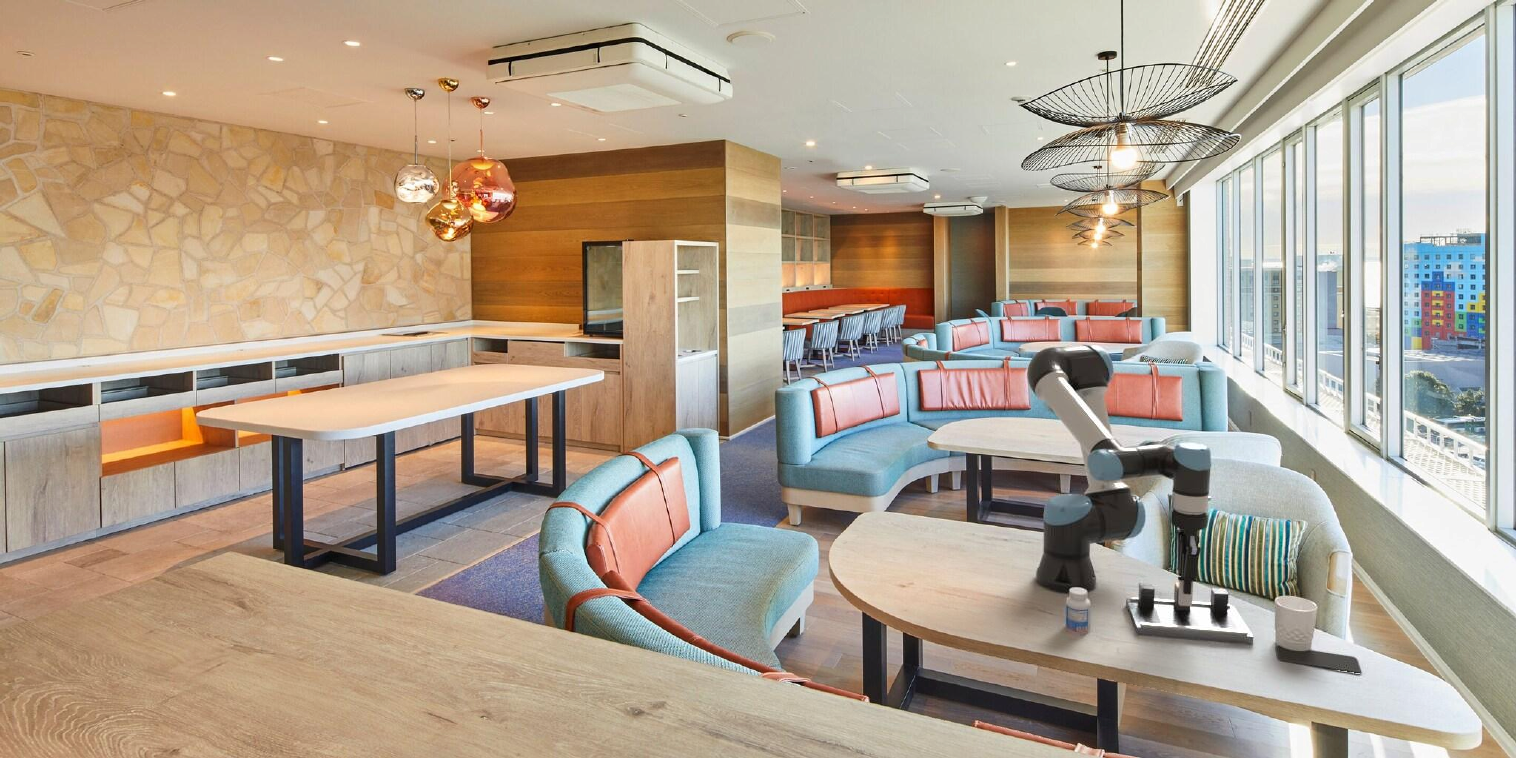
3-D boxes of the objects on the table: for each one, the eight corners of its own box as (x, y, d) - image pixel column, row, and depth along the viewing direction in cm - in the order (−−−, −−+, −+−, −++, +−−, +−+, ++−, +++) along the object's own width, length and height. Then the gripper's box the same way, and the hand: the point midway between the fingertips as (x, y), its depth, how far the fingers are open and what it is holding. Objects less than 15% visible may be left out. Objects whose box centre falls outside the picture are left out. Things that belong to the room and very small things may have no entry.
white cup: (1320, 655, 179) (1324, 612, 178) (1280, 652, 181) (1283, 610, 179) (1305, 637, 187) (1307, 596, 185) (1266, 635, 188) (1269, 594, 187)
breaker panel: (1136, 635, 191) (1137, 607, 190) (1125, 605, 206) (1126, 579, 205) (1252, 644, 185) (1254, 615, 183) (1232, 613, 200) (1234, 586, 199)
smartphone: (1274, 644, 184) (1356, 656, 177) (1274, 647, 184) (1356, 660, 177) (1277, 659, 178) (1362, 672, 170) (1277, 663, 178) (1362, 676, 171)
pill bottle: (1071, 621, 199) (1072, 583, 197) (1093, 628, 195) (1094, 589, 194) (1061, 629, 195) (1062, 591, 194) (1083, 636, 191) (1084, 597, 190)
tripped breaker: (1176, 609, 198) (1177, 587, 197) (1173, 604, 201) (1174, 582, 200) (1190, 610, 198) (1191, 588, 197) (1187, 605, 200) (1188, 582, 199)
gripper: (1214, 519, 185) (1209, 618, 189) (1200, 501, 197) (1195, 594, 201) (1178, 517, 187) (1173, 615, 191) (1166, 500, 199) (1162, 592, 203)
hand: (1184, 604), depth 196 cm, fingers closed
